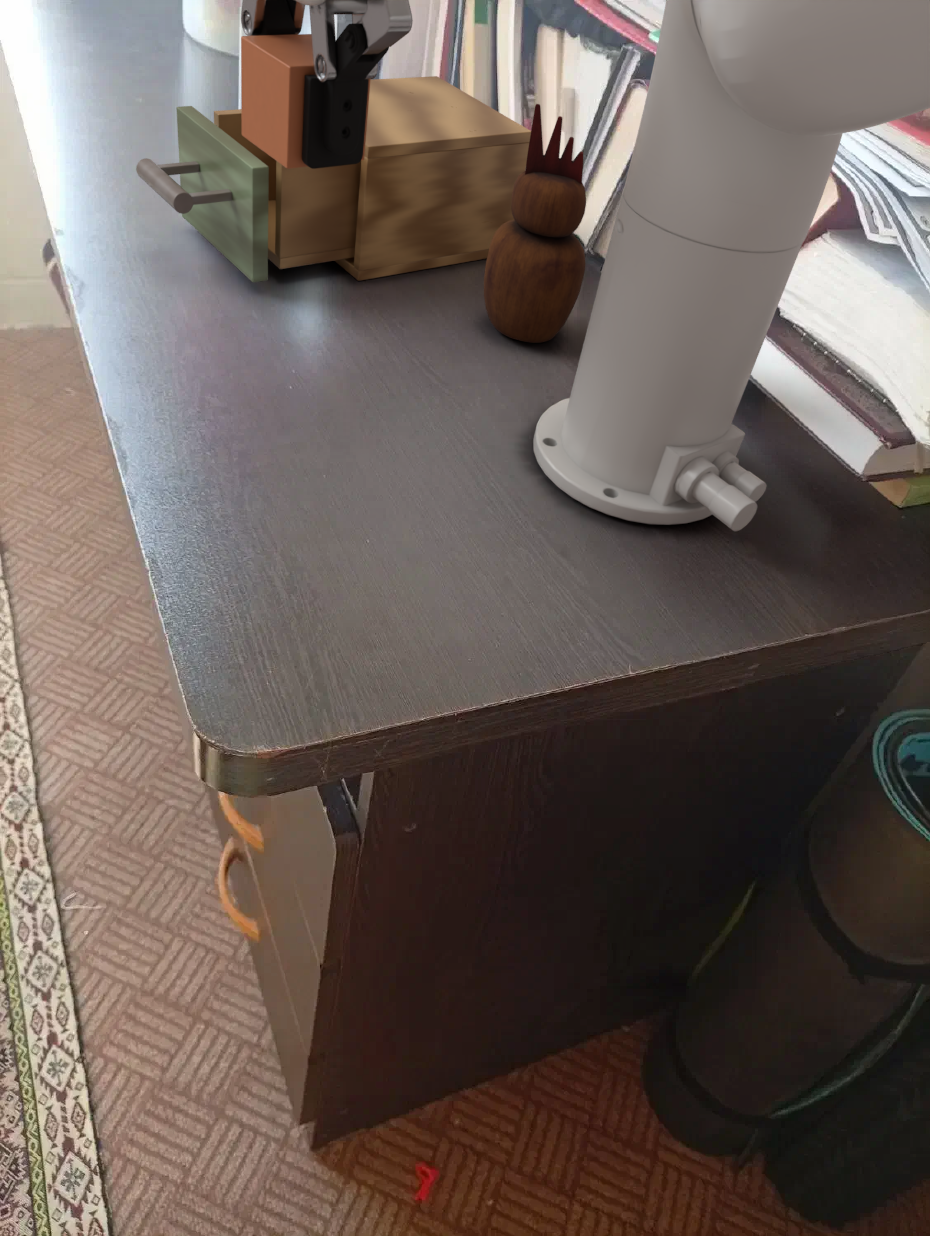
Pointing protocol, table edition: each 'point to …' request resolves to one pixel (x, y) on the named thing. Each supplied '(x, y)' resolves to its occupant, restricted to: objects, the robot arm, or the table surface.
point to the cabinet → (432, 177)
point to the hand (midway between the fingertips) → (303, 139)
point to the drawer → (256, 197)
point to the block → (277, 94)
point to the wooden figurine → (538, 244)
